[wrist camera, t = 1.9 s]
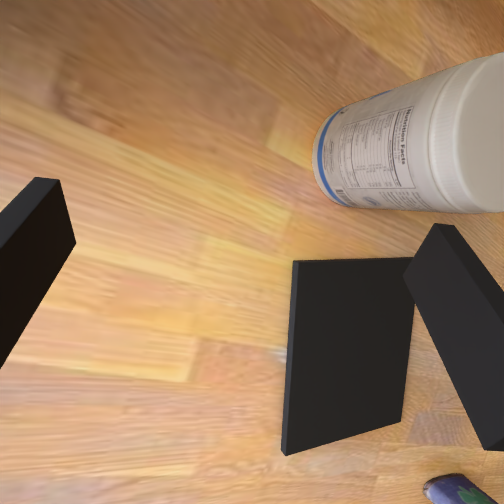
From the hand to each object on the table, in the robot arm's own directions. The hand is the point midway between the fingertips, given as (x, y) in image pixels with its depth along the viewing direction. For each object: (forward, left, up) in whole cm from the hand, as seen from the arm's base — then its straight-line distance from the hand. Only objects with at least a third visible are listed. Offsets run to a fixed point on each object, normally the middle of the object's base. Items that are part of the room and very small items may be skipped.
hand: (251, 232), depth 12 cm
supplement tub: (-6, +17, -16) cm, 25 cm away
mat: (+14, +20, -16) cm, 29 cm away
